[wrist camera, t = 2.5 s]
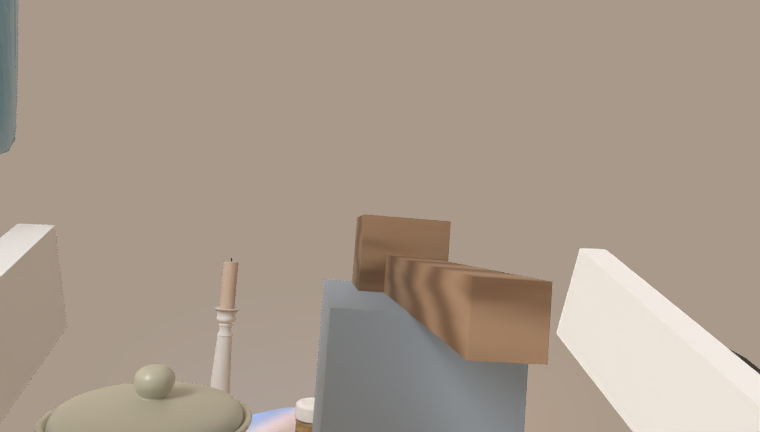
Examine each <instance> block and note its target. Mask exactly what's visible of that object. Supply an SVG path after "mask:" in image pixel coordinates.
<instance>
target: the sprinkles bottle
mask: <svg viewBox="0 0 760 432" xmlns="http://www.w3.org/2000/svg"><path fill="white" fill-rule="evenodd" d="M314 401H315V398H304V399H300V400H299V401H297V403H296V409H295V418H296V430H295V432H312V426H313V414H314Z"/></svg>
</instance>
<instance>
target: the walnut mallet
mask: <svg viewBox="0 0 760 432" xmlns="http://www.w3.org/2000/svg"><path fill="white" fill-rule="evenodd" d="M450 223H451V222H448V221H437V220H425V219H412V218H400V217H386V216H375V215H362V216H360V217H358V218H357V228H356V241H355V254H354V266H353V280H352V283H353V285H354V286H355V287H356V288H357V290H358V291H369V292H384V293H385V294H386V295H387V296H389V297H390V298H391V299H392V300H394V301H395V302H396V303H397V304H398V305H400V306H401V307H402V308H403V309H405V310H406V311H407V312H408V313H410V314H411V315H412V316H413V317H414V318H416V319H417V320H418V321H419V322H421V323H422V324H423V325H424V326H425V327H427V328H428V329H429V330H430V331H432V332H433V333H434V334H435V335H436V336H438V337H439V338H440V339H441V340H443V341H444V342H445V343H446V344H448V345H449V346H450V347H451V348H452V349H454V350H455V351H456V352H457V353H459V354H460V355H461V356H462V357H463V358H465V359H466V360H467V361H484V362H505V363H525V364H546V365H547V363H548V362H547V361H548V347H549V329H550V313H551V296H552V282H550V281H545V280H539V279H535V278H529V277H524V276H519V275H514V274H509V273H504V272H498V271H493V270H488V269H483V268H478V267H472V266H467V265H462V264H456V263H452V262H448V253H449V239H450Z"/></svg>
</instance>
